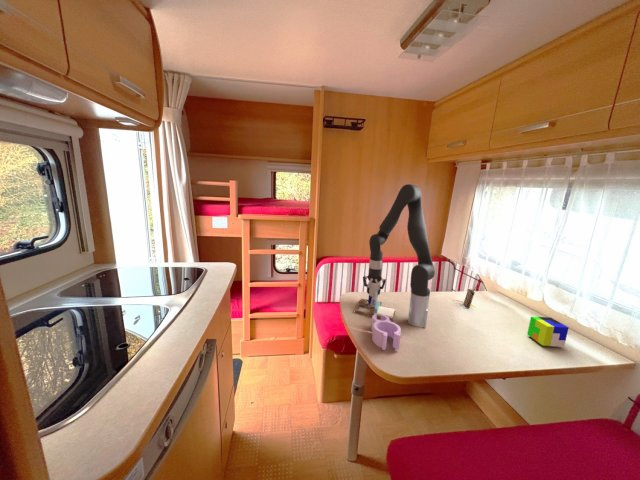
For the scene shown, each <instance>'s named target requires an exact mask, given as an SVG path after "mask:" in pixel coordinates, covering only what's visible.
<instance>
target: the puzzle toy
mask: <svg viewBox="0 0 640 480" xmlns="http://www.w3.org/2000/svg"><path fill="white" fill-rule="evenodd" d="M528 325H529V326H528V329H527V333H526V334H527V336H529V337H530V338H532V339H533V340H534V341H536V342H537V343H538V344H539V345H541V346H544V347H559V348H564V347H565V345H566V340H567V335H568V333H569V332H568V331H569V326H567V325H565V324H563V323H561V322H560V321H558V320H556V319H554V318H553V317H549V316H548V317H546V316H530V319H529V324H528Z"/></svg>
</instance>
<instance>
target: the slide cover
mask: <svg viewBox="0 0 640 480" xmlns="http://www.w3.org/2000/svg"><path fill="white" fill-rule="evenodd" d="M380 302H381V301H378V302H377V304H376V306H375V310H374V314H376V315H380V316H381V315H382V314H383V315H386V316H388V317H389V318H393V314H394V311H396V310H395V308H390V307H386V306H382V305H381V306H380Z"/></svg>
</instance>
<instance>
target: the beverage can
mask: <svg viewBox="0 0 640 480" xmlns="http://www.w3.org/2000/svg"><path fill="white" fill-rule="evenodd" d="M379 283H380V282H379ZM379 283H378V284H379ZM378 284H376V283H371V284H370V287H369V294H368V298H367V300H368V302H367V306H372V307H375V306H376V304H377V302H379V295H378Z"/></svg>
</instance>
